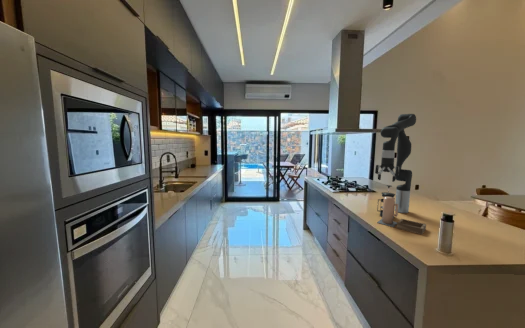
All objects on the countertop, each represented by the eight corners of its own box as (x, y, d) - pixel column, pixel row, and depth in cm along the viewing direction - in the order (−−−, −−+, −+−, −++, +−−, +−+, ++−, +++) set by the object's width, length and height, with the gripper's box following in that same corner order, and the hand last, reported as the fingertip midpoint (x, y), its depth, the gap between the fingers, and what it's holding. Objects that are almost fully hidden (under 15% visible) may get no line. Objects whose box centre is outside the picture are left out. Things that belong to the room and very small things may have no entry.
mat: (382, 219, 158) (382, 218, 158) (398, 223, 151) (398, 222, 151) (377, 223, 151) (377, 222, 151) (393, 227, 144) (393, 226, 144)
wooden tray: (401, 223, 150) (401, 218, 150) (425, 229, 141) (426, 224, 141) (396, 228, 143) (397, 222, 142) (422, 234, 133) (422, 228, 133)
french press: (394, 215, 168) (396, 184, 165) (395, 219, 159) (398, 187, 157) (376, 213, 172) (378, 183, 170) (377, 216, 164) (379, 185, 161)
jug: (383, 219, 156) (385, 195, 154) (397, 223, 150) (399, 198, 148) (380, 222, 151) (382, 197, 150) (395, 225, 145) (397, 200, 143)
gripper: (401, 157, 149) (399, 181, 151) (378, 156, 159) (377, 178, 161) (398, 158, 144) (396, 183, 145) (374, 156, 154) (373, 180, 155)
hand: (386, 180), depth 153 cm, fingers open, 8 cm apart
